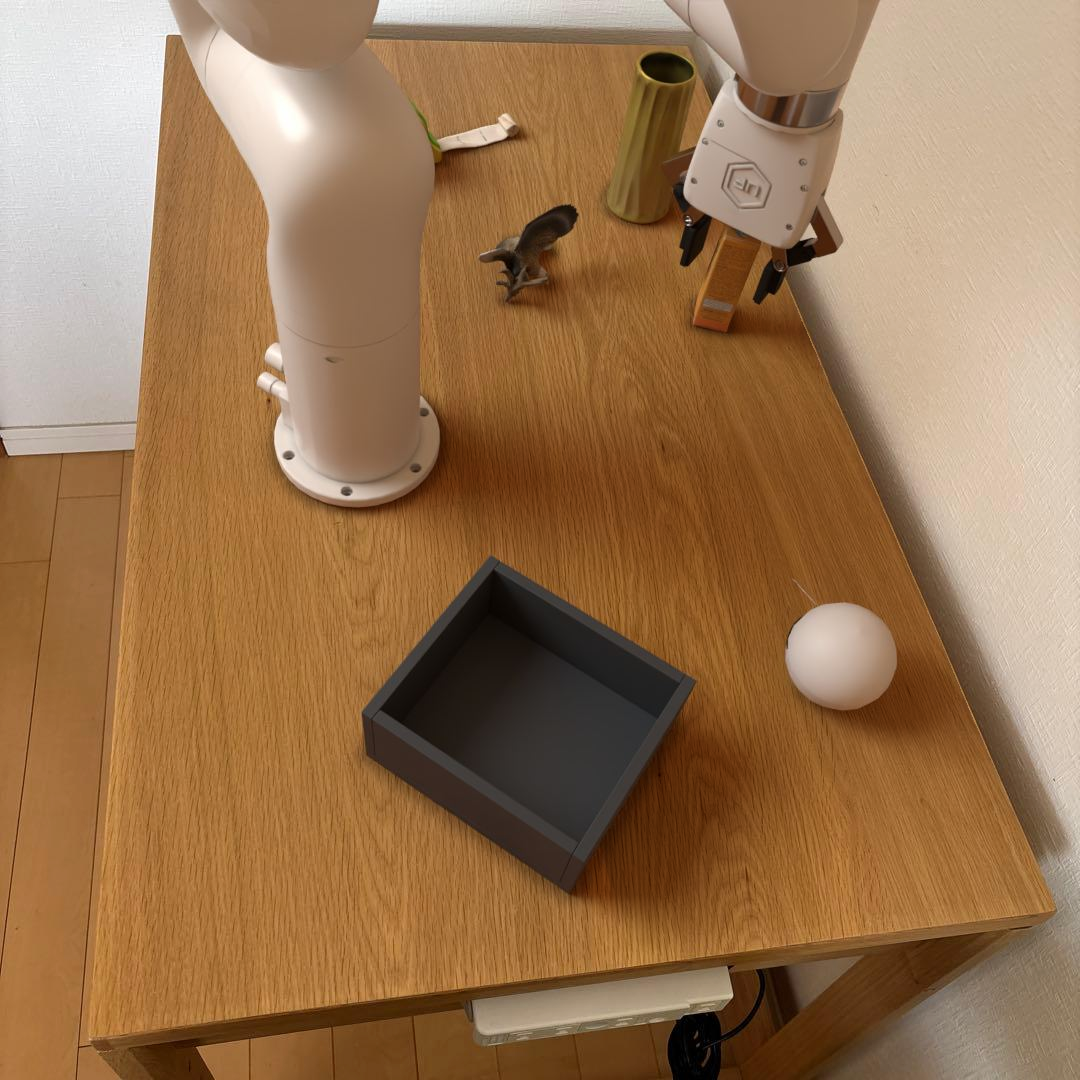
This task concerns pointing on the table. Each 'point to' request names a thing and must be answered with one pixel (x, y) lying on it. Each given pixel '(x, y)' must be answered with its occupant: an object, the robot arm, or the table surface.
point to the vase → (651, 135)
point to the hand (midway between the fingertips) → (727, 274)
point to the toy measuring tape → (471, 135)
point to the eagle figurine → (531, 249)
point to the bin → (525, 719)
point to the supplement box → (725, 279)
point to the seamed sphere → (840, 655)
